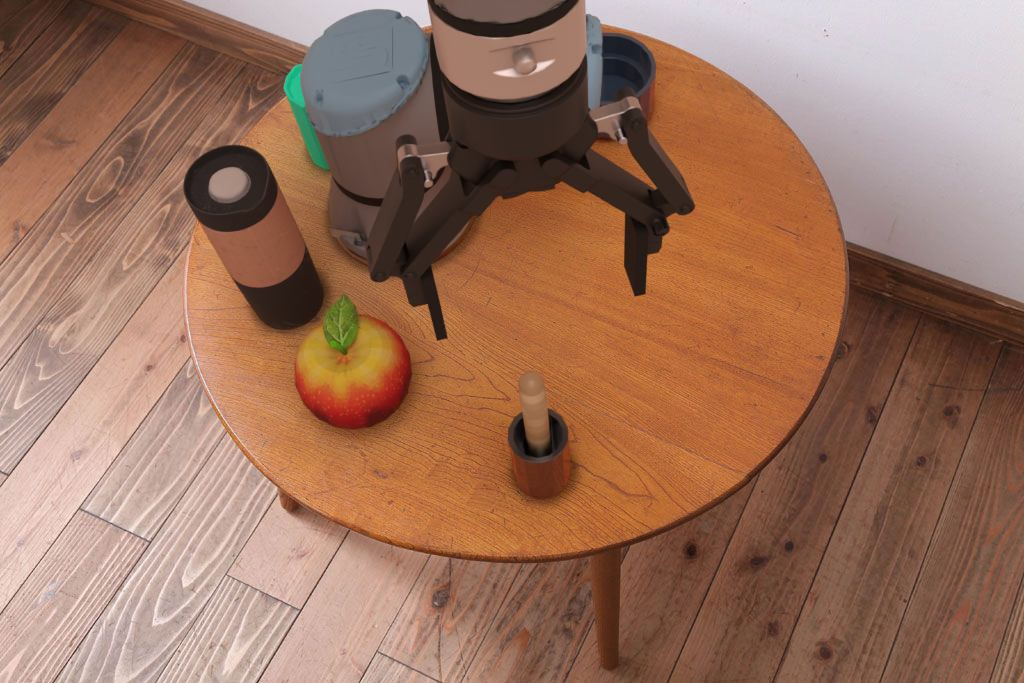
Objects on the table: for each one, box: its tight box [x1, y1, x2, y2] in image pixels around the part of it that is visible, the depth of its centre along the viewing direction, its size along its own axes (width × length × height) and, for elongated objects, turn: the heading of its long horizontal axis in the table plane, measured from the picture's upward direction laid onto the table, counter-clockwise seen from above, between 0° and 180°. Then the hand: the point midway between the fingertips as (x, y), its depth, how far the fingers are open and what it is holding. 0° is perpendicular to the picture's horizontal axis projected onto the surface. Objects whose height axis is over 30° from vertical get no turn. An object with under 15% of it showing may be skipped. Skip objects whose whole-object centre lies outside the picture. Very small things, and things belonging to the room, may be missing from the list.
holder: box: [507, 407, 572, 500], centre depth 89 cm, size 5×5×9 cm
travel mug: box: [182, 144, 324, 331], centre depth 95 cm, size 8×8×20 cm
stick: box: [517, 370, 552, 458], centre depth 84 cm, size 2×2×19 cm
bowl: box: [597, 32, 657, 139], centre depth 109 cm, size 10×10×6 cm
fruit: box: [293, 292, 413, 430], centre depth 93 cm, size 11×11×10 cm
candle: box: [283, 63, 330, 171], centre depth 107 cm, size 6×6×12 cm
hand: (537, 302), depth 69 cm, fingers open, 13 cm apart
